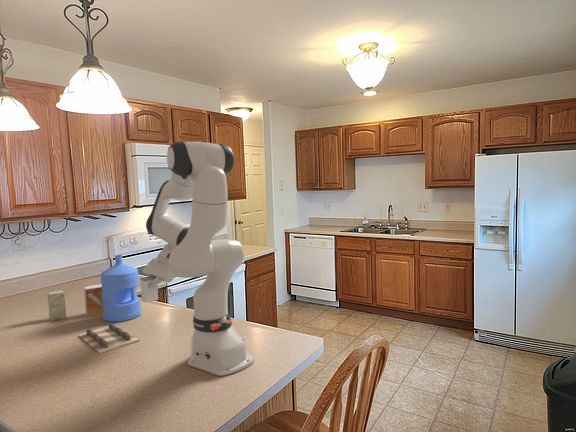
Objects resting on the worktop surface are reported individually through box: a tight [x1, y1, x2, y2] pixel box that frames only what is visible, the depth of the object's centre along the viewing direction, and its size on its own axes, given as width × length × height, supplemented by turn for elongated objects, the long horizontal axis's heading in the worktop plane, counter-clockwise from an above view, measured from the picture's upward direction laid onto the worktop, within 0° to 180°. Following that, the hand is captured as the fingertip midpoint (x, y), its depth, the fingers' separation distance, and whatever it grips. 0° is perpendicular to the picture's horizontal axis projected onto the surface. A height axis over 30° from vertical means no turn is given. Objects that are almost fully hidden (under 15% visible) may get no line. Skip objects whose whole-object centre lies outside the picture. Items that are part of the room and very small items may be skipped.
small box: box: [83, 283, 104, 318], centre depth 178 cm, size 8×6×13 cm
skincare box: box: [47, 289, 67, 322], centre depth 173 cm, size 6×4×12 cm
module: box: [139, 276, 159, 304], centre depth 150 cm, size 4×5×9 cm
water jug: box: [100, 254, 142, 323], centre depth 172 cm, size 16×16×28 cm
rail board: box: [78, 322, 140, 354], centre depth 148 cm, size 24×14×3 cm, turn 44°
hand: (147, 287), depth 150 cm, fingers closed on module, 4 cm apart
